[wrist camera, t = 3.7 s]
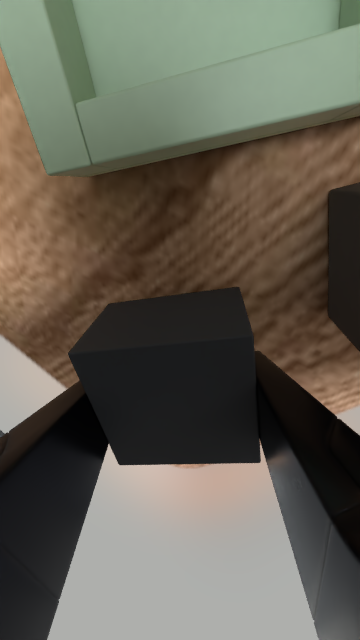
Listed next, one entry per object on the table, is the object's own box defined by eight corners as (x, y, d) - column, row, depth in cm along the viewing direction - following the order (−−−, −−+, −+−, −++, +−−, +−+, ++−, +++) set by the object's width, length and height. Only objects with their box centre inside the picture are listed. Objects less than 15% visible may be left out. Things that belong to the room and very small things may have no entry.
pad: (140, 397, 11) (118, 466, 8) (108, 303, 9) (66, 353, 6) (247, 391, 10) (260, 464, 8) (239, 285, 8) (254, 335, 6)
